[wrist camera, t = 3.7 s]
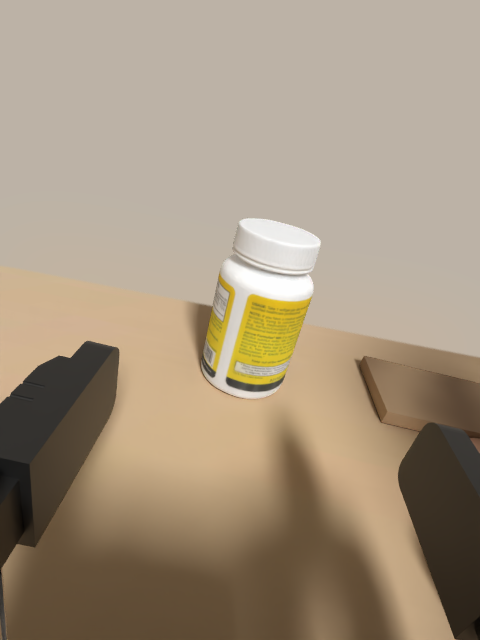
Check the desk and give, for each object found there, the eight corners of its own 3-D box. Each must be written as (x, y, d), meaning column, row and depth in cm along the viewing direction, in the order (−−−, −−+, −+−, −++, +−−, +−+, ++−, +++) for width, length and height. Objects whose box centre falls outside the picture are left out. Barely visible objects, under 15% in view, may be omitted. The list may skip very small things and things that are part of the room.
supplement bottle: (294, 377, 22) (345, 242, 18) (252, 415, 18) (304, 255, 14) (231, 341, 24) (264, 212, 20) (182, 368, 20) (210, 217, 16)
